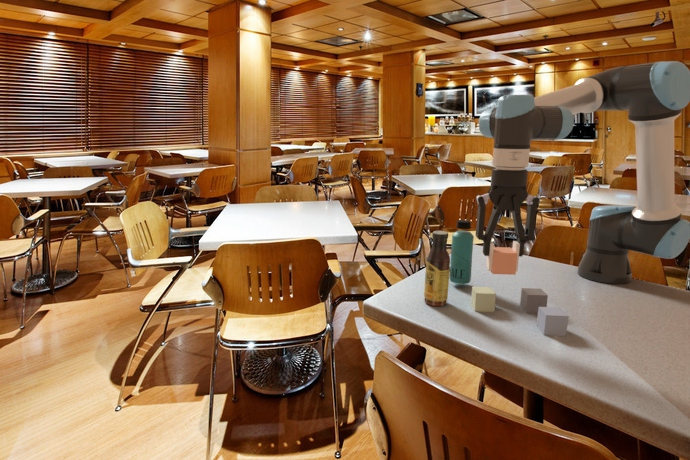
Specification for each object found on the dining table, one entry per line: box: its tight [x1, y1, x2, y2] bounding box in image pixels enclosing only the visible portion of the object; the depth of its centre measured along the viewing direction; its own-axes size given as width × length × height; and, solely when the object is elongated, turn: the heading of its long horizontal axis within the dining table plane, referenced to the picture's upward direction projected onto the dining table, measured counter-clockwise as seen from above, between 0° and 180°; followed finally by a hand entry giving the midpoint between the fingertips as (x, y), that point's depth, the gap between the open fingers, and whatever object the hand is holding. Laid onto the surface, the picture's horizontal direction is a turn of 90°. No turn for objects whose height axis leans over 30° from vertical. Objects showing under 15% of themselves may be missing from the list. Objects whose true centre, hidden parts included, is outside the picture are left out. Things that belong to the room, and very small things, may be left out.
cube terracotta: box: [490, 246, 517, 276], centre depth 105 cm, size 5×5×5 cm
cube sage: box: [470, 286, 497, 313], centre depth 121 cm, size 5×5×5 cm
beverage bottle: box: [449, 219, 475, 285], centre depth 136 cm, size 6×7×20 cm
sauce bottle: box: [423, 230, 451, 307], centre depth 122 cm, size 7×6×20 cm
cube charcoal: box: [519, 287, 549, 314], centre depth 120 cm, size 5×5×5 cm
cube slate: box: [536, 306, 569, 337], centre depth 107 cm, size 5×5×5 cm
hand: (501, 269), depth 106 cm, fingers closed on cube terracotta, 5 cm apart
